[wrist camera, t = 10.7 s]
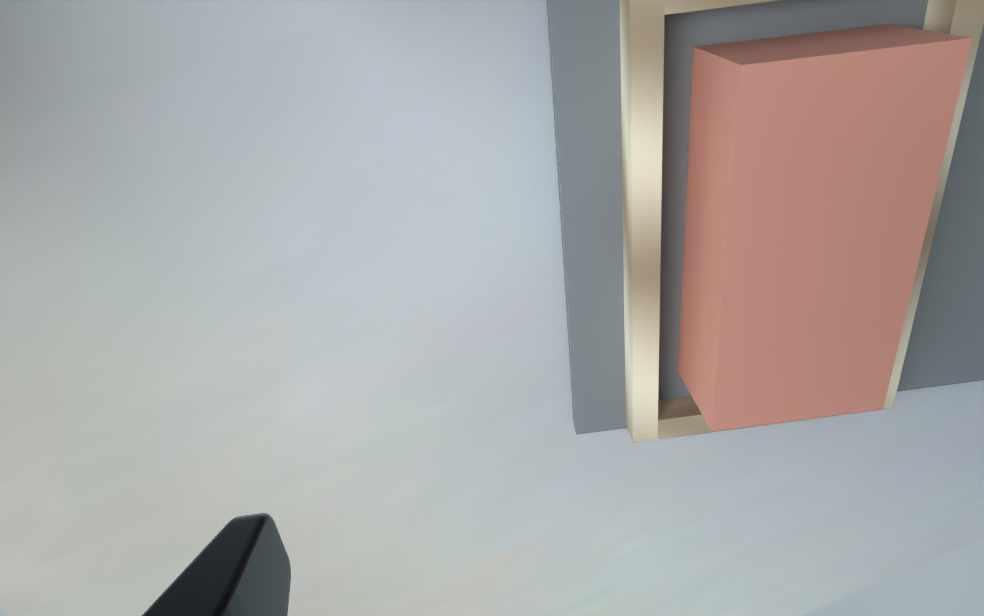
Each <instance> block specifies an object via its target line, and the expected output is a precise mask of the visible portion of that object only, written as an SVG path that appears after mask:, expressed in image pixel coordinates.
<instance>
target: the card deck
mask: <svg viewBox="0 0 984 616" xmlns="http://www.w3.org/2000/svg"><path fill="white" fill-rule="evenodd" d="M971 42H972V38H970V37H964V36H958V35H952V34H946V33H940V32H934V31H928V30H922V29H916V28H910V27H904V26H898V25H892V24H882V25H874V26H865V27H857V28H848V29H840V30H831V31H823V32H814V33H806V34H797V35H789V36H780V37H772V38H763V39H755V40H746V41H738V42H729V43H721V44H712V45H703V46H695V47H693V62H692V83H691V104H690V126H689V147H688V168H687V190H686V211H685V232H684V253H683V275H682V296H681V317H680V338H679V360H678V373H679V375H680V376H681V378H682V380H683V382H684V384H685V385H686V387H687V389H688V391H689V392H690V394H691V396H692V398H693V400H694V401H695V403H696V405H697V407H698V408H699V410H700V412H701V414H702V415H703V417H704V419H705V421H706V423H707V424H708V426H709V428H710V430H711V431H717V430H724V429H732V428H740V427H748V426H756V425H764V424H772V423H780V422H788V421H796V420H804V419H812V418H820V417H828V416H836V415H844V414H852V413H860V412H868V411H876V410H883V408H884V404H885V399H886V395H887V391H888V387H889V383H890V379H891V375H892V370H893V366H894V362H895V358H896V354H897V350H898V345H899V341H900V337H901V333H902V329H903V325H904V321H905V316H906V312H907V308H908V304H909V300H910V296H911V292H912V287H913V283H914V279H915V275H916V271H917V267H918V262H919V258H920V254H921V250H922V246H923V242H924V238H925V233H926V229H927V225H928V221H929V217H930V213H931V208H932V204H933V200H934V196H935V192H936V188H937V184H938V179H939V175H940V171H941V167H942V163H943V159H944V155H945V150H946V146H947V142H948V138H949V134H950V130H951V125H952V121H953V117H954V113H955V109H956V105H957V101H958V96H959V92H960V88H961V84H962V80H963V76H964V71H965V67H966V63H967V59H968V55H969V51H970V47H971Z"/></svg>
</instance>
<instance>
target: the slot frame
mask: <svg viewBox="0 0 984 616" xmlns="http://www.w3.org/2000/svg"><path fill="white" fill-rule="evenodd" d="M769 1H776V0H620V57H621V126H622V195H623V264H624V333H625V402H626V425H627V428H628V430H629V433H630V435H631V438H632V440H633V443H635V442H643V441H650V440H658V439H665V438H673V437H680V436H688V435H695V434H702V433H710V432H717V431H725V430H732V429H740V428H747V427H740V428H732V429H724V430H717V431H711V430H710V428H709V426H708V424H707V423H706V421H705V419H704V417H703V415H702V414H701V412H700V410H699V408H698V407H697V405H696V403H695V401H694V400H693V398H692V396H686V397H679V398H672V399H664V400H658V387H659V325H660V262H661V200H662V137H663V75H664V15H668V14H676V13H683V12H691V11H699V10H707V9H714V8H722V7H730V6H738V5H745V4H753V3H761V2H769ZM983 24H984V0H929V1H928V6H927V11H926V16H925V21H924V26H923V30H928V31H934V32H940V33H946V34H952V35H958V36H964V37H970V38H972V42H971V47H970V51H969V55H968V59H967V63H966V67H965V71H964V76H963V80H962V84H961V88H960V92H959V96H958V101H957V105H956V109H955V113H954V117H953V121H952V125H951V130H950V134H949V138H948V142H947V146H946V150H945V155H944V159H943V163H942V167H941V171H940V175H939V179H938V184H937V188H936V192H935V196H934V200H933V204H932V208H931V213H930V217H929V221H928V225H927V229H926V233H925V238H924V242H923V246H922V250H921V254H920V258H919V262H918V267H917V271H916V275H915V279H914V283H913V287H912V292H911V296H910V300H909V304H908V308H907V312H906V316H905V321H904V325H903V329H902V333H901V337H900V341H899V345H898V350H897V354H896V358H895V362H894V366H893V370H892V375H891V379H890V383H889V387H888V391H887V395H886V399H885V404H884V408H883V409H889V408H893V405H894V401H895V397H896V393H897V388H898V384H899V380H900V376H901V371H902V367H903V363H904V359H905V354H906V350H907V346H908V342H909V338H910V333H911V329H912V325H913V321H914V316H915V312H916V308H917V304H918V299H919V295H920V291H921V287H922V282H923V278H924V274H925V270H926V265H927V261H928V257H929V253H930V249H931V244H932V240H933V236H934V232H935V227H936V223H937V219H938V215H939V210H940V206H941V202H942V198H943V193H944V189H945V185H946V181H947V177H948V172H949V168H950V164H951V160H952V155H953V151H954V147H955V143H956V138H957V134H958V130H959V126H960V121H961V117H962V113H963V109H964V105H965V100H966V96H967V92H968V88H969V83H970V79H971V75H972V71H973V66H974V62H975V58H976V54H977V49H978V45H979V41H980V37H981V33H982V28H983ZM828 417H829V416H828ZM820 418H822V417H820ZM812 419H814V418H812ZM804 420H807V419H804ZM796 421H799V420H796ZM788 422H792V421H788ZM780 423H784V422H780ZM772 424H777V423H772ZM764 425H769V424H764ZM756 426H762V425H756ZM748 427H755V426H748Z"/></svg>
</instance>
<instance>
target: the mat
mask: <svg viewBox="0 0 984 616" xmlns="http://www.w3.org/2000/svg"><path fill="white" fill-rule="evenodd" d="M928 1H929V0H776V1H769V2H761V3H753V4H745V5H738V6H730V7H722V8H714V9H707V10H699V11H691V12H683V13H676V14H668V15H664V75H663V137H662V200H661V262H660V325H659V387H658V400H664V399H672V398H679V397H686V396H691V394H690V392H689V391H688V389H687V387H686V385H685V384H684V382H683V380H682V378H681V376H680V375H679V373H678V360H679V338H680V317H681V296H682V275H683V253H684V232H685V211H686V190H687V168H688V147H689V126H690V104H691V83H692V62H693V47H695V46H703V45H712V44H721V43H729V42H738V41H746V40H755V39H763V38H772V37H780V36H789V35H797V34H806V33H814V32H823V31H831V30H840V29H848V28H857V27H865V26H874V25H882V24H892V25H898V26H904V27H910V28H916V29H922V30H923V26H924V21H925V16H926V11H927V6H928ZM547 11H548V26H549V42H550V58H551V73H552V89H553V105H554V120H555V136H556V152H557V167H558V183H559V199H560V214H561V230H562V245H563V261H564V277H565V292H566V308H567V324H568V339H569V355H570V371H571V386H572V402H573V418H574V427H575V431H576V434H584V433H592V432H599V431H607V430H614V429H622V428H627V425H626V402H625V333H624V264H623V195H622V126H621V57H620V0H547ZM979 380H984V24H983V28H982V33H981V37H980V41H979V45H978V49H977V54H976V58H975V62H974V66H973V71H972V75H971V79H970V83H969V88H968V92H967V96H966V100H965V105H964V109H963V113H962V117H961V121H960V126H959V130H958V134H957V138H956V143H955V147H954V151H953V155H952V160H951V164H950V168H949V172H948V177H947V181H946V185H945V189H944V193H943V198H942V202H941V206H940V210H939V215H938V219H937V223H936V227H935V232H934V236H933V240H932V244H931V249H930V253H929V257H928V261H927V265H926V270H925V274H924V278H923V282H922V287H921V291H920V295H919V299H918V304H917V308H916V312H915V316H914V321H913V325H912V329H911V333H910V338H909V342H908V346H907V350H906V354H905V359H904V363H903V367H902V371H901V376H900V380H899V384H898V388H897V391H905V390H912V389H920V388H927V387H935V386H942V385H950V384H957V383H964V382H972V381H979Z"/></svg>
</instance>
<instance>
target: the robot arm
mask: <svg viewBox="0 0 984 616" xmlns="http://www.w3.org/2000/svg"><path fill="white" fill-rule="evenodd" d="M290 581H291V568H290V562H289V558H288V555H287V552H286V550H285V547H284V545H283V542H282V540H281V537H280V535H279V532H278V530H277V527H276V525H275V522H274V520H273V518H272V517H271V516H270V515H269V514H266V513H260V514H253V515H246V516H239V517H236V518H234V519H232V520H231V521H230V522H229V523H228V524H227V525H226V526H225V527H224V528H223V529H222V530H221V531H220V532H219V533H218V534H217V536H216V537H215V538H214V539H213V540H212V541H211V542H210V543H209V544H208V545H207V546H206V547H205V548H204V549H203V551H202V552H201V553H200V554H199V555H198V556H197V557H196V558H195V559H194V560H193V561H192V562H191V563H190V564H189V566H188V567H187V568H186V569H185V570H184V571H183V572H182V573H181V574H180V575H179V576H178V577H177V578H176V580H175V581H174V582H173V583H172V584H171V585H170V586H169V587H168V588H167V589H166V590H165V591H164V592H163V593H162V595H161V596H160V597H159V598H158V599H157V600H156V601H155V602H154V603H153V604H152V605H151V606H150V607H149V609H148V610H147V611H146V612H145V613H144V614H143V615H142V616H287V613H288V602H289V592H290Z"/></svg>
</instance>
